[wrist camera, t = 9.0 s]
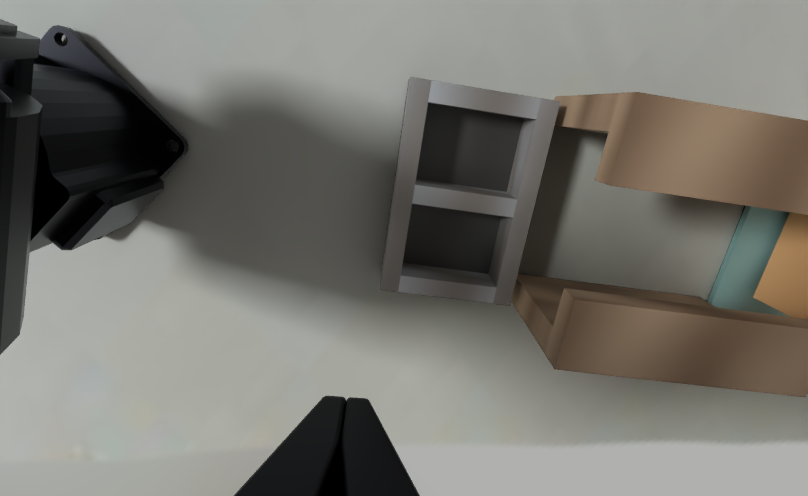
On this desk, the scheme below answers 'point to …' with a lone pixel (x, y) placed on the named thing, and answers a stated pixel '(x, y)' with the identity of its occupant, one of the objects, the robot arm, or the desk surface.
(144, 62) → the desk surface
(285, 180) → the desk surface
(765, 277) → the slider
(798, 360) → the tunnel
